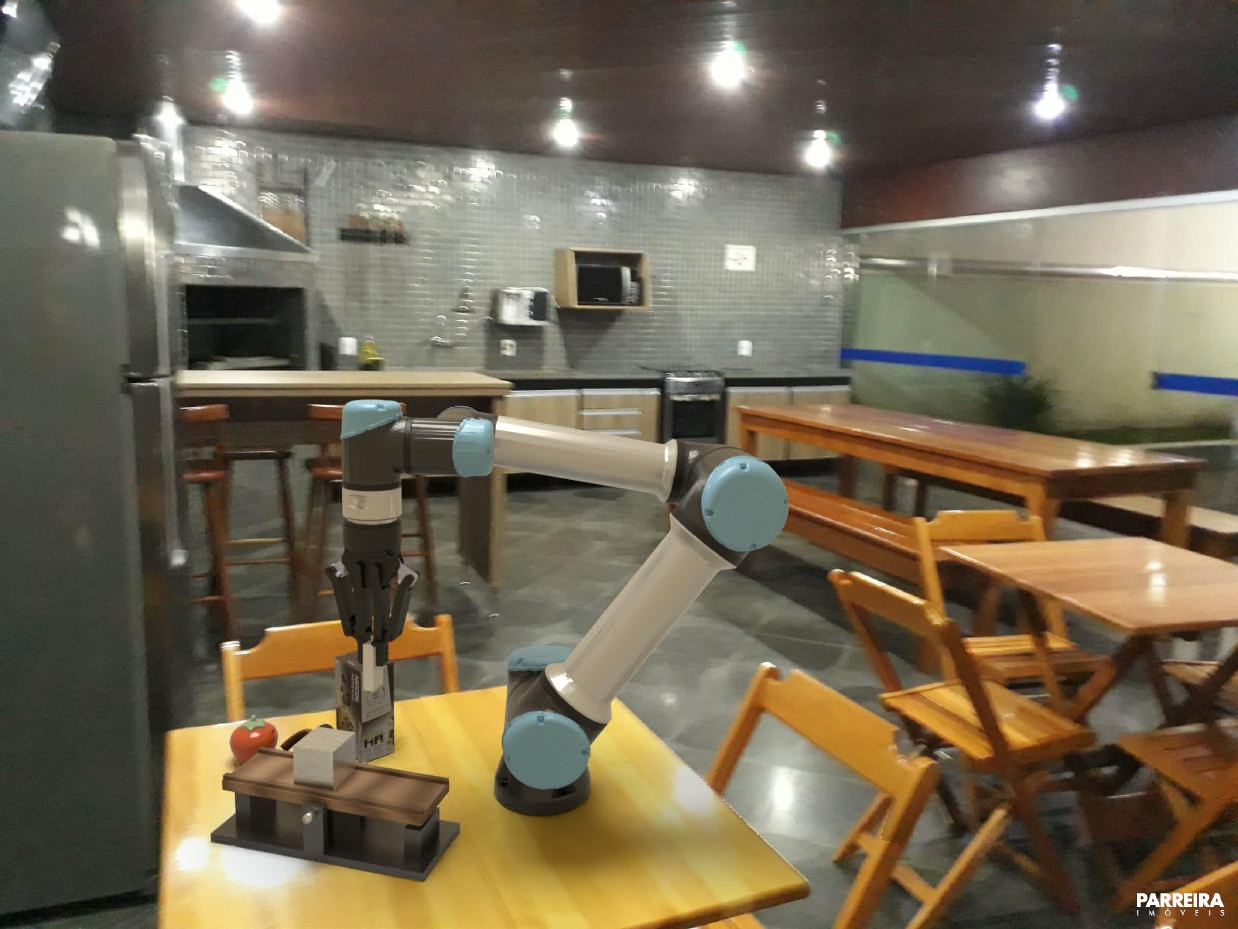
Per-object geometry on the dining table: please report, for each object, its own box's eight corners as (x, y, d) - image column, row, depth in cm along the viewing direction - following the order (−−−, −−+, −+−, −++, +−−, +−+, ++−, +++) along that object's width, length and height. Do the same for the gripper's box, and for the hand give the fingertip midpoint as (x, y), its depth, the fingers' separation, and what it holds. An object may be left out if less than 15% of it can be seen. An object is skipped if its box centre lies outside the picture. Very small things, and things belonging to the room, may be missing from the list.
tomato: (280, 767, 141) (279, 721, 140) (230, 776, 138) (228, 729, 136) (277, 746, 147) (276, 702, 146) (229, 754, 144) (228, 709, 143)
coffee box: (396, 752, 147) (395, 661, 145) (361, 764, 143) (360, 672, 140) (368, 733, 153) (367, 646, 151) (334, 744, 149) (333, 655, 146)
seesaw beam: (449, 791, 123) (449, 777, 123) (421, 826, 114) (421, 811, 114) (262, 759, 129) (262, 746, 129) (222, 790, 121) (221, 776, 120)
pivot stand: (464, 824, 127) (464, 774, 126) (417, 889, 112) (417, 833, 111) (270, 791, 134) (268, 743, 132) (202, 848, 119) (200, 794, 118)
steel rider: (355, 771, 124) (355, 732, 123) (333, 793, 118) (332, 752, 117) (317, 765, 125) (317, 726, 124) (293, 786, 120) (293, 746, 119)
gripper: (311, 519, 112) (314, 691, 116) (404, 528, 109) (404, 705, 113) (342, 507, 119) (344, 670, 123) (430, 516, 116) (429, 682, 120)
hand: (373, 686), depth 118 cm, fingers closed
